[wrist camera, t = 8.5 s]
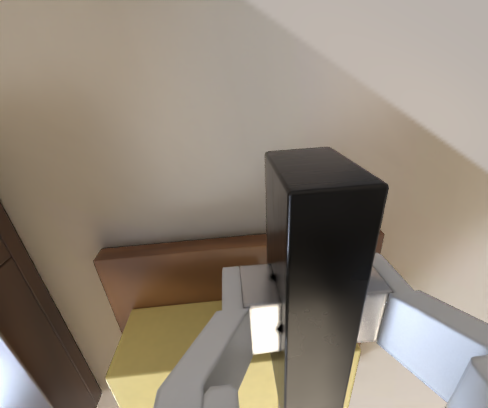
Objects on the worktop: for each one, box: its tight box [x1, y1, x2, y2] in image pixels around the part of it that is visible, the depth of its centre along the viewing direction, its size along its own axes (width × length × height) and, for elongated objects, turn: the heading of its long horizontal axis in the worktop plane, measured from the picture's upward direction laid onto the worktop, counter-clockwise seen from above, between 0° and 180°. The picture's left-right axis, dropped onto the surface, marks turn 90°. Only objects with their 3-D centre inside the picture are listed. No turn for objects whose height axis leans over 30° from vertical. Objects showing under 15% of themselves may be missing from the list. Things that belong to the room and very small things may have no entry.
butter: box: [105, 300, 279, 408], centre depth 13 cm, size 4×7×4 cm, turn 93°
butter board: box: [93, 230, 384, 347], centre depth 15 cm, size 12×14×1 cm
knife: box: [265, 147, 389, 408], centre depth 11 cm, size 16×2×6 cm, turn 3°
